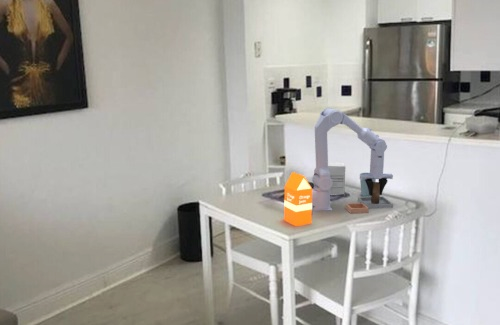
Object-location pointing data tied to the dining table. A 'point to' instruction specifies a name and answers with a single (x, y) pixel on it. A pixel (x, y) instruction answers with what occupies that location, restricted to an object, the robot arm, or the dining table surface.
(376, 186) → the peg
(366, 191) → the cup
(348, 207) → the orange square open box
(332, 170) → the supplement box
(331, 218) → the dining table surface
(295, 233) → the dining table surface
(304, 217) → the orange juice
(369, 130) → the robot arm
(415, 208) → the dining table surface
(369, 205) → the tray
